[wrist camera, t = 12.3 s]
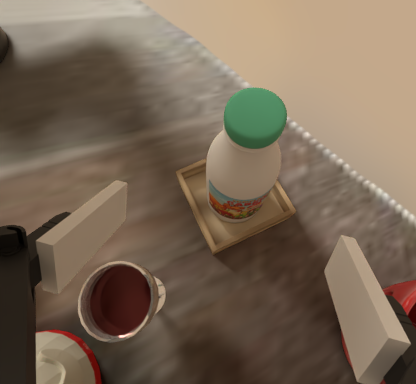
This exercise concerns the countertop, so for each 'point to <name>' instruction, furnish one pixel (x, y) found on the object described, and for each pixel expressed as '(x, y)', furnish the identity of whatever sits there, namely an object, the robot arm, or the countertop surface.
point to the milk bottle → (245, 155)
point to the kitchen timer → (64, 359)
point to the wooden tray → (221, 230)
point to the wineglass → (119, 301)
